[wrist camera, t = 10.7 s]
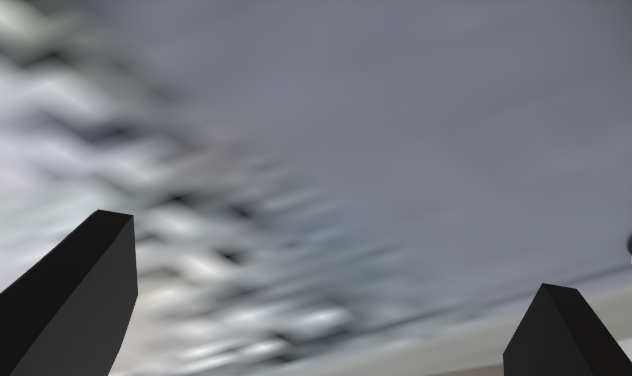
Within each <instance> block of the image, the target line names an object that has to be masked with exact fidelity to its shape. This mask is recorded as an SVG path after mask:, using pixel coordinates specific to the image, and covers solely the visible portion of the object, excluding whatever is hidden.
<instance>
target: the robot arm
mask: <svg viewBox="0 0 632 376" xmlns="http://www.w3.org/2000/svg"><path fill="white" fill-rule="evenodd" d="M630 260H631V264H632V256H631V258H630ZM137 296H138V286H137V269H136V252H135V235H134V218H133V215H129V214H123V213H117V212H110V211H104V210H97V211H95V212H94V213H92V214H91V215H90V216H89V217H88V218H87V219H86V220H85V221H83V222H82V223H81V224H80V225H79V226H78V227H77V228H76V229H75V230H74V231H72V232H71V233H70V234H69V235H68V236H67V237H66V238H65V239H64V240H62V241H61V242H60V243H59V244H58V245H57V246H56V247H55V248H53V249H52V250H51V251H50V252H49V253H48V254H47V255H45V256H44V257H43V258H42V259H41V260H40V261H39V262H37V263H36V264H35V265H34V266H33V267H32V268H30V269H29V270H28V271H27V272H26V273H24V274H23V275H22V276H21V277H20V278H18V279H17V280H16V281H15V282H14V283H12V284H11V285H10V286H9V287H8V288H6V289H5V290H4V291H3V292H2V293H0V376H108V374H109V372H110V369H111V367H112V365H113V363H114V361H115V359H116V356H117V354H118V352H119V350H120V348H121V345H122V342H123V339H124V336H125V333H126V330H127V327H128V324H129V321H130V318H131V315H132V312H133V309H134V305H135V302H136V299H137ZM503 363H504V376H632V362H631V361H630V359H629V358H628V357H627V355H626V354H625V353H624V351H623V350H622V349H621V347H620V346H619V345H618V343H617V342H616V341H615V339H614V338H613V337H612V335H611V334H610V333H609V331H608V330H607V328H606V327H605V326H604V324H603V323H602V322H601V320H600V319H599V318H598V316H597V315H596V314H595V312H594V311H593V310H592V308H591V307H590V306H589V304H588V303H587V302H586V300H585V299H584V298H583V296H582V295H581V294H580V293H579V291H578V290H577V289H574V288H568V287H562V286H556V285H550V284H544V283H542V285H541V287H540V288H539V290H538V292H537V294H536V296H535V297H534V299H533V301H532V303H531V305H530V306H529V308H528V310H527V312H526V314H525V315H524V317H523V319H522V321H521V323H520V324H519V326H518V328H517V330H516V332H515V333H514V335H513V337H512V339H511V341H510V342H509V344H508V346H507V348H506V350H505V351H504V353H503Z"/></svg>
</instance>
